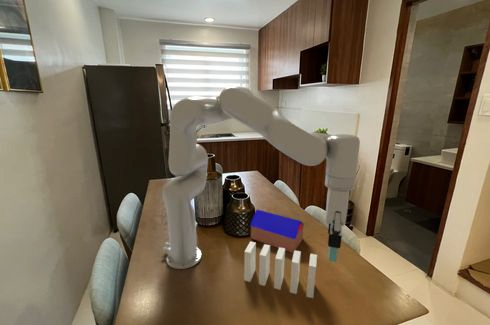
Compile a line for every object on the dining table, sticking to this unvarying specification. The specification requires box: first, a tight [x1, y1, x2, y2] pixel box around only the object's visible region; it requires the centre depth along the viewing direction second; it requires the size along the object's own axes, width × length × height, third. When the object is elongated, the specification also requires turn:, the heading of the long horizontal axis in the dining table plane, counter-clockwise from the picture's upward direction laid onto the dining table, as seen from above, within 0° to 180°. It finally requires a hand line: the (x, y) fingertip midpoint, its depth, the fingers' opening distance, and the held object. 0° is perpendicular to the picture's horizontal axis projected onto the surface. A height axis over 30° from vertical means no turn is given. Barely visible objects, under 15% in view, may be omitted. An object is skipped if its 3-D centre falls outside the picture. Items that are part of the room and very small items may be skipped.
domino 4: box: [289, 250, 302, 295], centre depth 74 cm, size 2×6×11 cm, turn 161°
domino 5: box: [306, 253, 318, 299], centre depth 72 cm, size 2×6×11 cm, turn 161°
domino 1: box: [243, 241, 257, 283], centre depth 79 cm, size 2×6×11 cm, turn 161°
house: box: [249, 209, 305, 254], centre depth 100 cm, size 12×20×12 cm, turn 59°
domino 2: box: [258, 243, 271, 287], centre depth 77 cm, size 2×6×11 cm, turn 161°
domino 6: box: [328, 221, 339, 263], centre depth 67 cm, size 2×6×11 cm, turn 161°
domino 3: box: [273, 247, 286, 291], centre depth 75 cm, size 2×6×11 cm, turn 161°
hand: (333, 239), depth 67 cm, fingers closed on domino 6, 5 cm apart
